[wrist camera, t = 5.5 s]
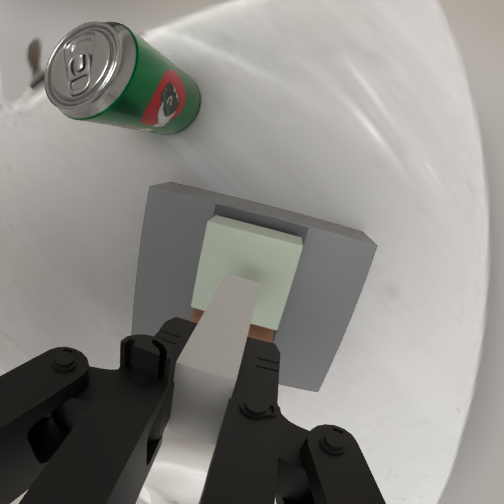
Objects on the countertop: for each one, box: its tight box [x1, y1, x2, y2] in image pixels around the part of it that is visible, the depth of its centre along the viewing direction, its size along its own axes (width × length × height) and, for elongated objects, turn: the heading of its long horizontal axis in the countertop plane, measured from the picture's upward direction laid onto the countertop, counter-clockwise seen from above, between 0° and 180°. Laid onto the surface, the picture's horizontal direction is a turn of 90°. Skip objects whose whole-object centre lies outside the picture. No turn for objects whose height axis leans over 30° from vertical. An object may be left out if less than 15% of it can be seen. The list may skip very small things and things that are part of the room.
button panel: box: [132, 182, 377, 392], centre depth 23 cm, size 15×12×4 cm
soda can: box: [44, 22, 200, 135], centre depth 16 cm, size 5×5×12 cm
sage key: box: [191, 215, 303, 330], centre depth 18 cm, size 5×5×2 cm
